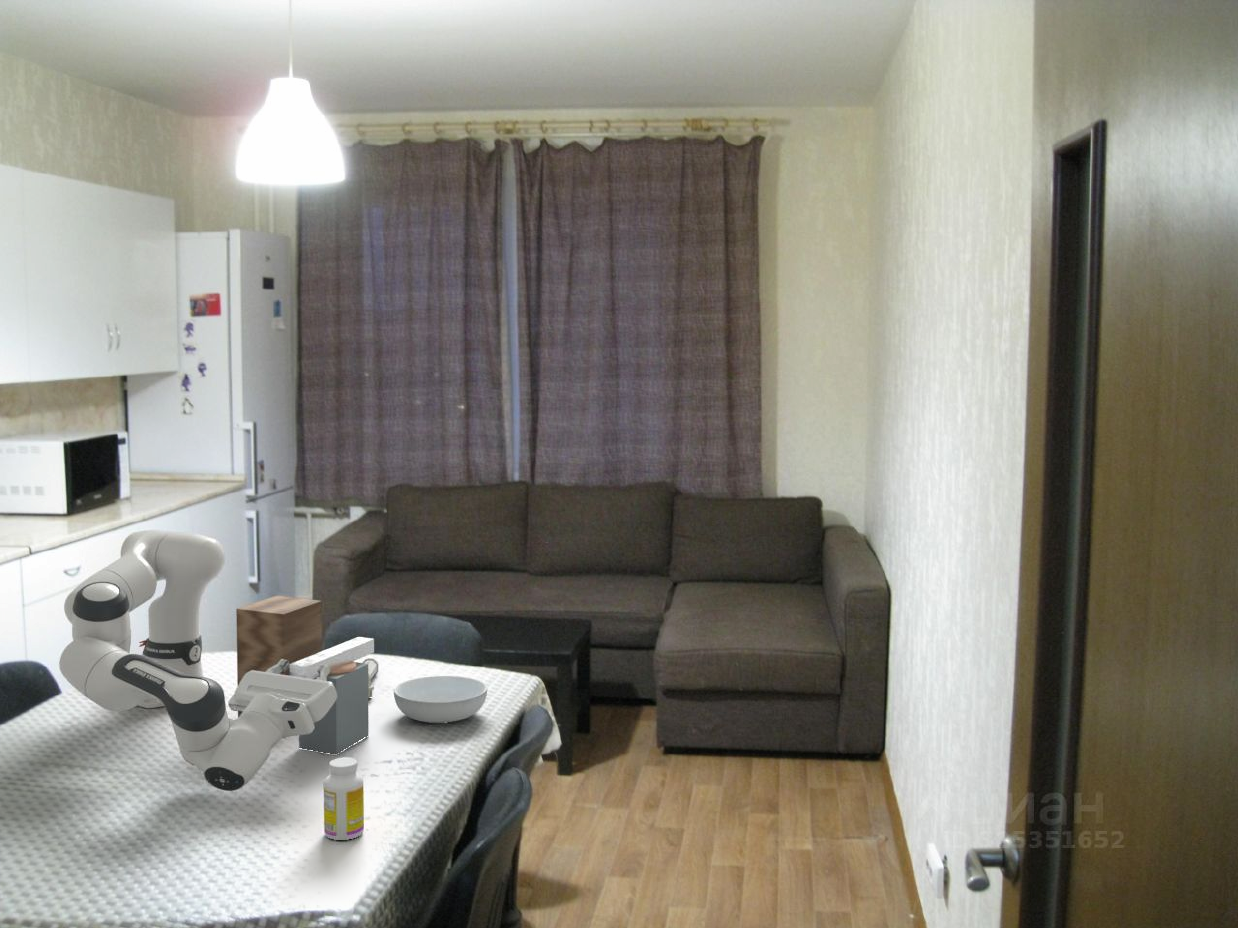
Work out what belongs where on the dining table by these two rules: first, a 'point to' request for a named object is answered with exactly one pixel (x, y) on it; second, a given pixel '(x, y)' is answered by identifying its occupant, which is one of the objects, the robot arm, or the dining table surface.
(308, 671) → the white bar
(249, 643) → the stand
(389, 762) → the dining table surface
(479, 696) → the serving bowl
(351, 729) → the low block
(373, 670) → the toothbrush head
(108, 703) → the robot arm
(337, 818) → the supplement bottle
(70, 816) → the dining table surface
